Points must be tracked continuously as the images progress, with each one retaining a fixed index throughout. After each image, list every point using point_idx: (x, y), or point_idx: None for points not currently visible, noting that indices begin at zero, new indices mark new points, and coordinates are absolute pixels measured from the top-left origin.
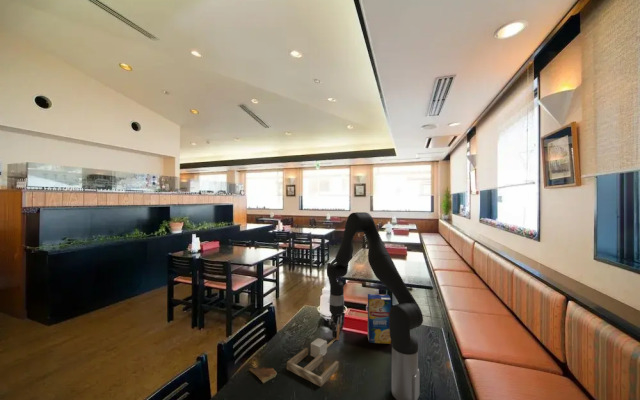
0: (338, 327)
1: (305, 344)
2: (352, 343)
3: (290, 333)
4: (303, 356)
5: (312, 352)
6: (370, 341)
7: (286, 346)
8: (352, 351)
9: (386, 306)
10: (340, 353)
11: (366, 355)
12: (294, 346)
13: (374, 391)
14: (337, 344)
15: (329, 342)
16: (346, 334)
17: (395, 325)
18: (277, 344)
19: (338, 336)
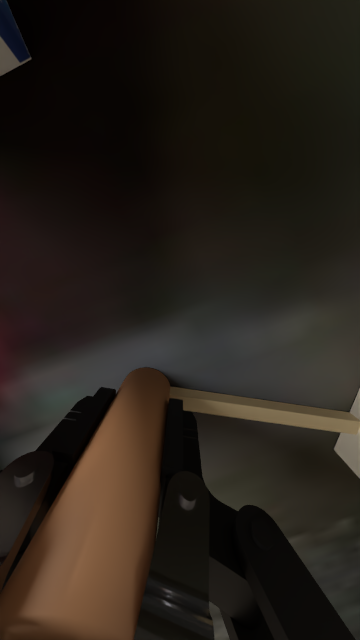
0: (118, 502)
1: (301, 527)
2: (142, 240)
3: (221, 622)
4: None
5: None
6: (9, 17)
7: (354, 590)
8: (272, 192)
9: None
10: (337, 286)
11: (294, 3)
12: (342, 563)
13: None
14: (217, 355)
15: (244, 418)
16: (32, 341)
17: None
18: (349, 625)
19: (151, 388)
